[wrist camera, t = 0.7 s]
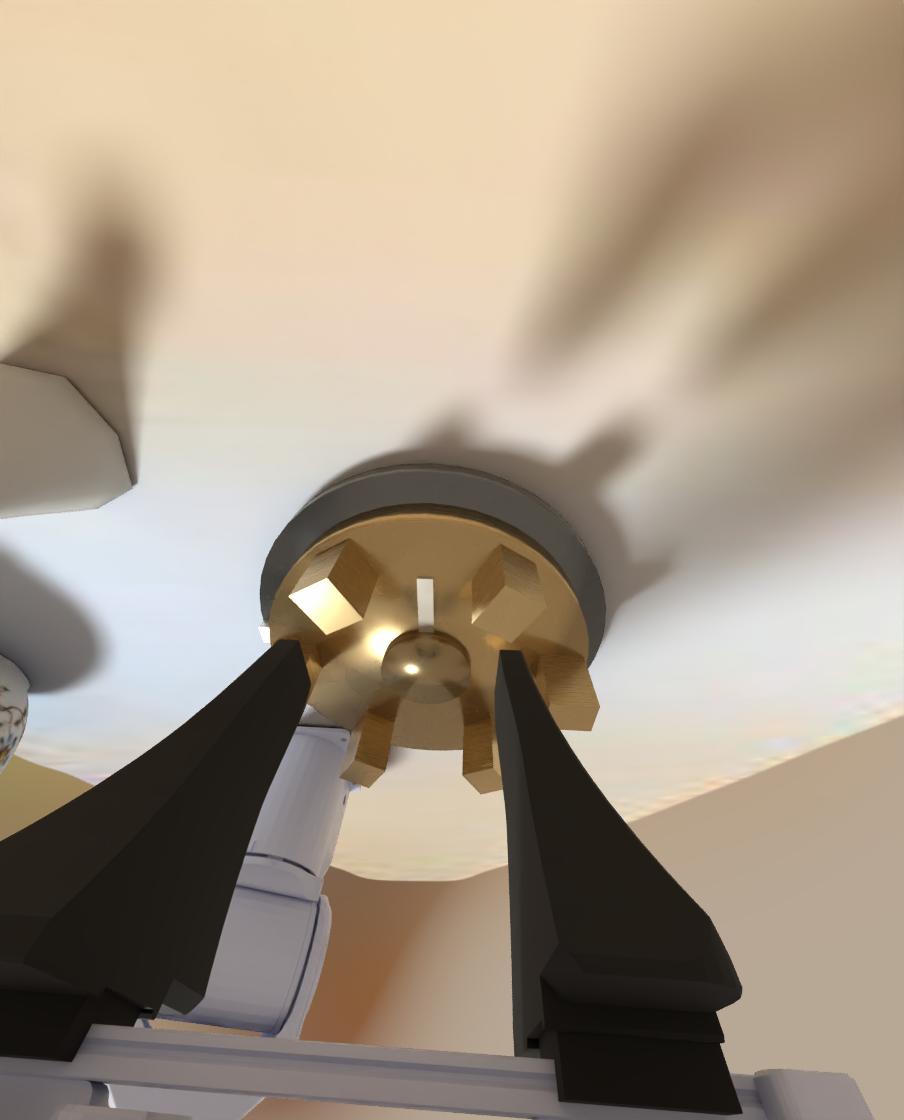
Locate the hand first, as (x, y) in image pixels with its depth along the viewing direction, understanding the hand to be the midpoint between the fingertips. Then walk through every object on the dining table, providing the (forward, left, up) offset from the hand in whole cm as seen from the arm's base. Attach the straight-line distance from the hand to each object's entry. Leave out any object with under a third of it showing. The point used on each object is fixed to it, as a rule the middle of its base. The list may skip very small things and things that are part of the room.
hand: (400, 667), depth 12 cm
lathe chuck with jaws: (-8, 0, -9) cm, 12 cm away
